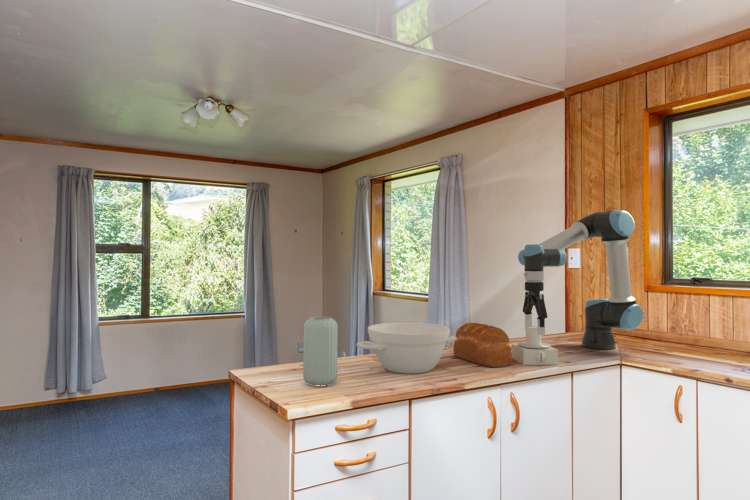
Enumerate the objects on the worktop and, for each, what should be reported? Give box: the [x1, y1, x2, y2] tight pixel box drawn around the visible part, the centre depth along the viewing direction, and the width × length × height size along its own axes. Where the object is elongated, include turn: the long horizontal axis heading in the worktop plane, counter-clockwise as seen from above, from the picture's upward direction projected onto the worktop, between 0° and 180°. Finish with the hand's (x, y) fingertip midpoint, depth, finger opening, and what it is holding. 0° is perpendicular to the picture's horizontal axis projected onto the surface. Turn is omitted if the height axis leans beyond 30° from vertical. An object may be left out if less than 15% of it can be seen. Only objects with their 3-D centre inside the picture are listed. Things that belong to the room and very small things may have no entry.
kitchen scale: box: [511, 340, 559, 366], centre depth 205 cm, size 15×14×7 cm
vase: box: [302, 316, 339, 386], centre depth 167 cm, size 12×12×22 cm
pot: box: [356, 321, 457, 375], centre depth 190 cm, size 44×32×16 cm
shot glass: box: [524, 325, 543, 345], centre depth 205 cm, size 7×7×7 cm
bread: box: [453, 322, 513, 368], centre depth 206 cm, size 14×26×16 cm, turn 25°
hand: (534, 332), depth 205 cm, fingers open, 13 cm apart
